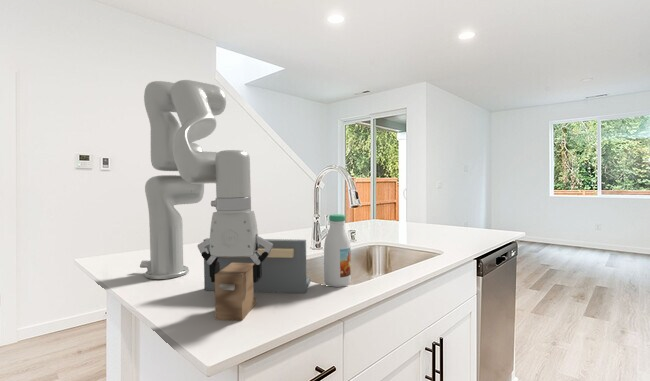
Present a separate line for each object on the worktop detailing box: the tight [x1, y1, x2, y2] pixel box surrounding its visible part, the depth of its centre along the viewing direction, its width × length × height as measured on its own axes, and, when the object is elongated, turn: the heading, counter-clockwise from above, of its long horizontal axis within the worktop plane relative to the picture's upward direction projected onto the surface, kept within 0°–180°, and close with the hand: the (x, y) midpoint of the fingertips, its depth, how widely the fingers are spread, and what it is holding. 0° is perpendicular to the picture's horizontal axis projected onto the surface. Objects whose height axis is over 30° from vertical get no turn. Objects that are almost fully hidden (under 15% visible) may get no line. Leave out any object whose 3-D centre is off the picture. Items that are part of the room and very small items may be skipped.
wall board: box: [203, 237, 312, 294], centre depth 95 cm, size 28×12×14 cm, turn 84°
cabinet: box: [214, 263, 257, 322], centre depth 77 cm, size 6×11×10 cm, turn 174°
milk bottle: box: [323, 213, 352, 288], centre depth 97 cm, size 8×8×20 cm
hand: (236, 280), depth 76 cm, fingers open, 9 cm apart
